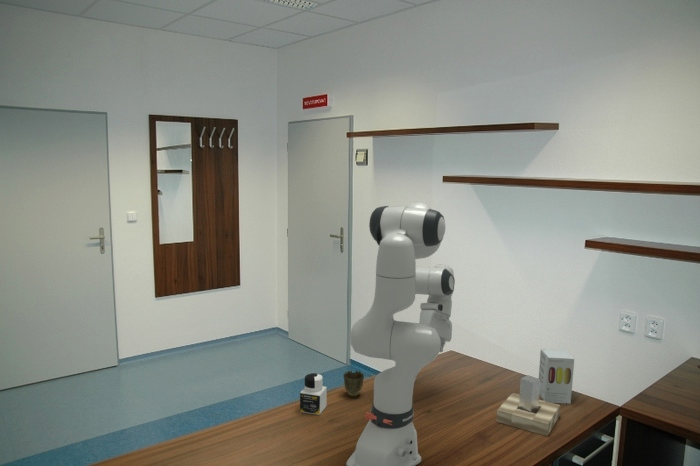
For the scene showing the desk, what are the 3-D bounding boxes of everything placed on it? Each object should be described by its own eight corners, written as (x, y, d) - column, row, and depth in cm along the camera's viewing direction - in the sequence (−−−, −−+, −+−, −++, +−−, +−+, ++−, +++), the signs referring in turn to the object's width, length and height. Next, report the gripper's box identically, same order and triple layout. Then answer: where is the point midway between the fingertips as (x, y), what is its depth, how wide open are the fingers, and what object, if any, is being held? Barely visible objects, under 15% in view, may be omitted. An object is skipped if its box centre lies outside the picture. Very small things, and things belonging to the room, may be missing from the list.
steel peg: (530, 423, 171) (532, 382, 169) (518, 418, 174) (520, 378, 172) (537, 419, 173) (540, 379, 172) (525, 414, 177) (528, 375, 175)
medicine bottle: (299, 412, 176) (299, 378, 175) (307, 403, 183) (307, 370, 181) (319, 415, 174) (319, 380, 173) (326, 406, 181) (327, 372, 179)
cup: (364, 391, 193) (364, 370, 192) (362, 400, 186) (363, 378, 185) (344, 390, 194) (344, 369, 193) (342, 399, 186) (342, 377, 185)
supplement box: (544, 402, 186) (547, 357, 184) (536, 391, 195) (539, 348, 193) (571, 404, 185) (575, 358, 183) (563, 392, 194) (566, 349, 192)
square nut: (547, 436, 163) (548, 424, 162) (496, 421, 172) (497, 410, 171) (559, 416, 176) (560, 405, 175) (511, 403, 185) (512, 392, 184)
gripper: (441, 317, 197) (437, 354, 192) (418, 302, 181) (413, 342, 177) (457, 318, 193) (454, 355, 189) (435, 302, 178) (430, 343, 173)
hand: (434, 349), depth 183 cm, fingers open, 8 cm apart
